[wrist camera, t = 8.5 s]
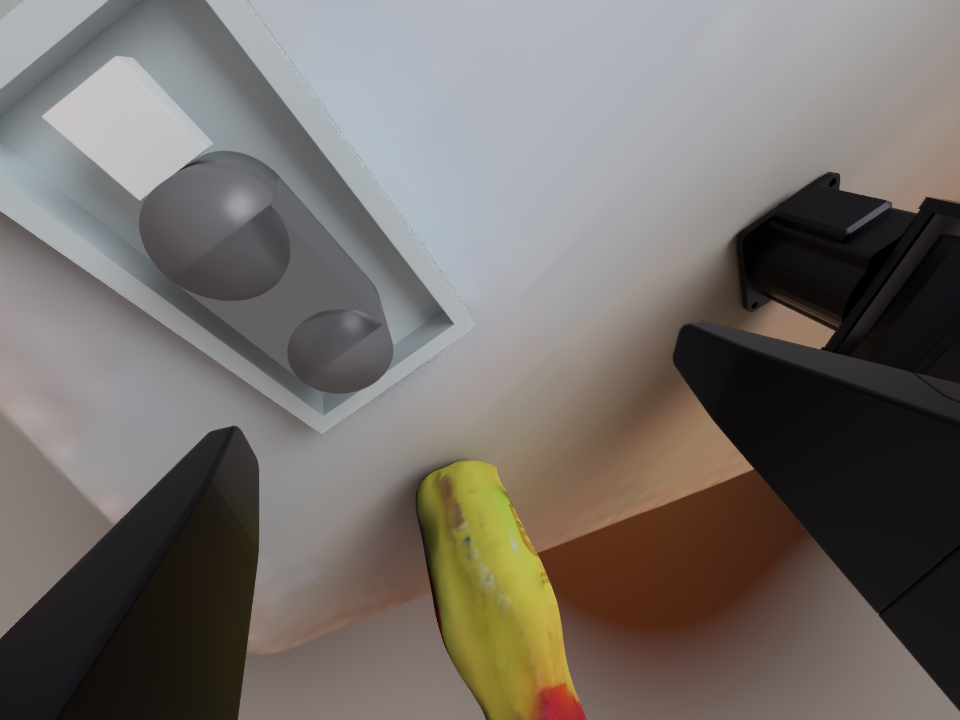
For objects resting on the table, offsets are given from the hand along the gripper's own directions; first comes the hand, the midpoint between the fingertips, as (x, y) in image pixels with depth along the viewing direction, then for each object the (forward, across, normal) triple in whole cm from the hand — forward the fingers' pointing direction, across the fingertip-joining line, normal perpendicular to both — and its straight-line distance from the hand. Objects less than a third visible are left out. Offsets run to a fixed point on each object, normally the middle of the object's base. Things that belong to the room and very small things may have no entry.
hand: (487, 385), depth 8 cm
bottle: (+12, -1, +20) cm, 23 cm away
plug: (+11, +5, 0) cm, 12 cm away
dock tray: (+12, +5, 0) cm, 13 cm away
